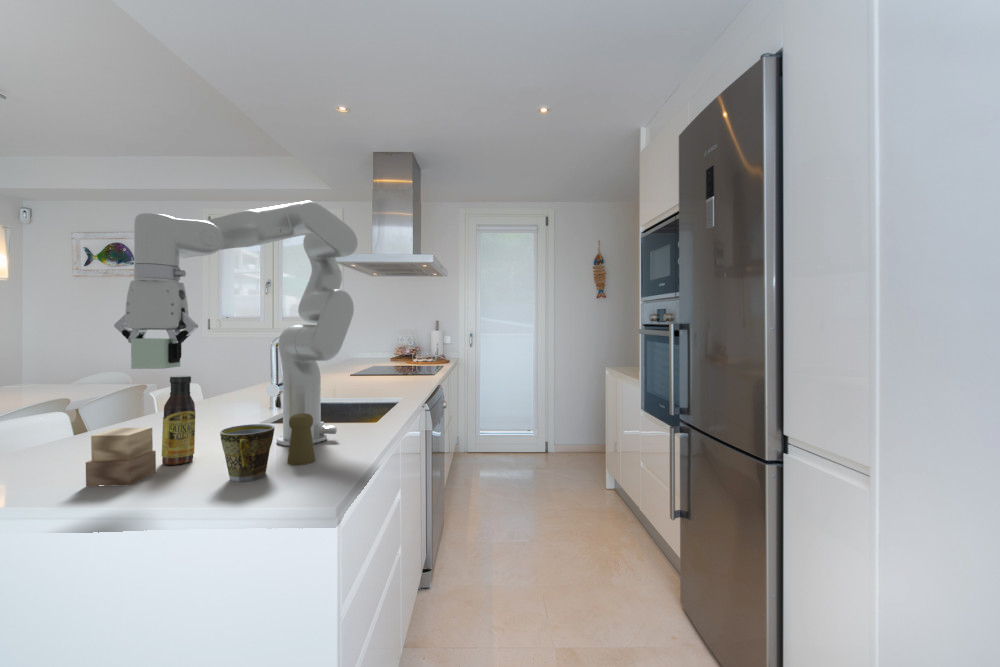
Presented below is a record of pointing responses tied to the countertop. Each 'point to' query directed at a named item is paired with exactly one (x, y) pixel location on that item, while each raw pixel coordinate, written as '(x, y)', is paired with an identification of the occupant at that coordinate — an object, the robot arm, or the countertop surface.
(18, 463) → the countertop surface
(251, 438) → the ceramic cup
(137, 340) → the sage block
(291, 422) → the cork
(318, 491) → the countertop surface
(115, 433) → the oak block
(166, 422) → the sauce bottle
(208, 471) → the countertop surface
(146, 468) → the walnut block
